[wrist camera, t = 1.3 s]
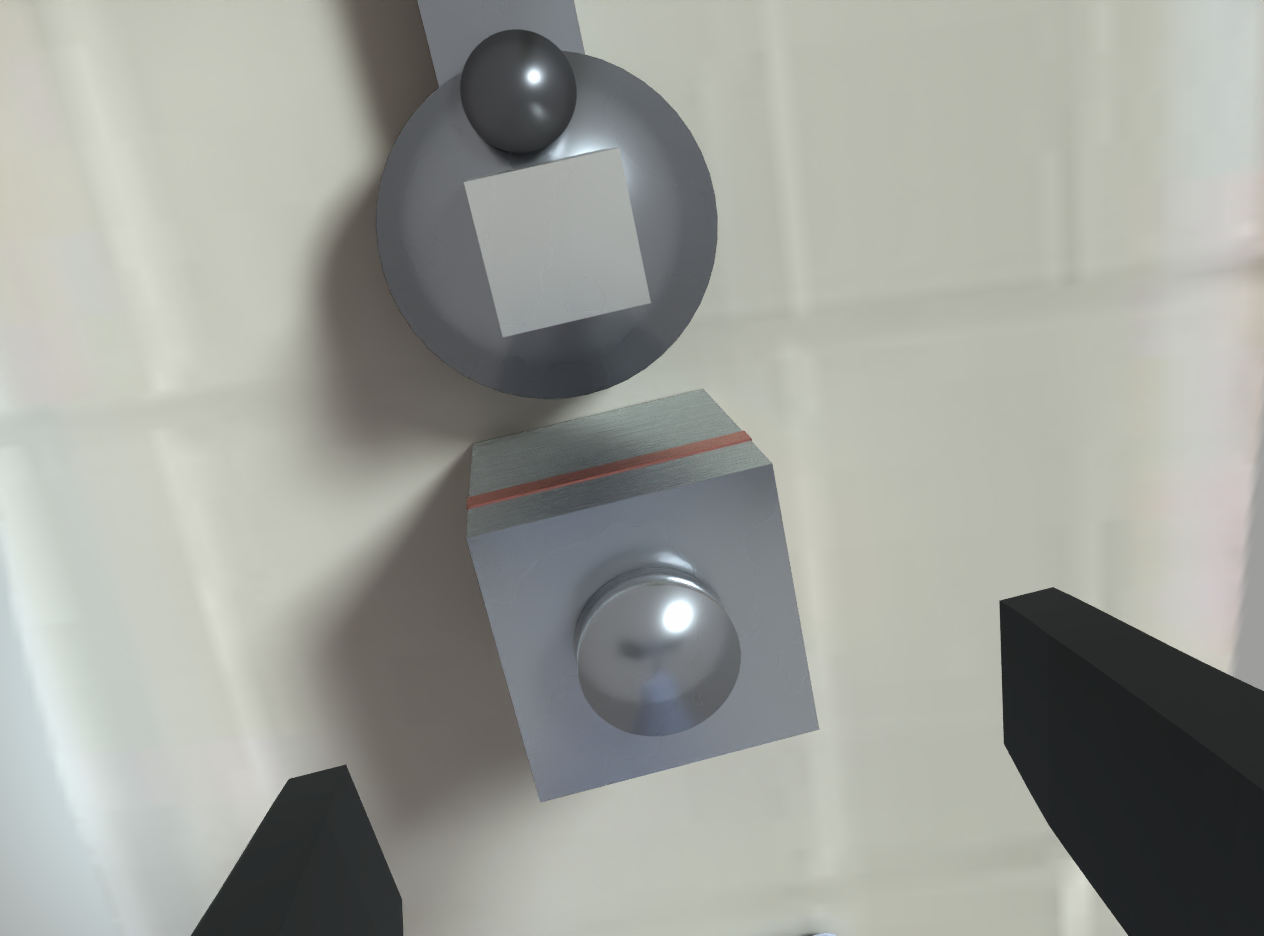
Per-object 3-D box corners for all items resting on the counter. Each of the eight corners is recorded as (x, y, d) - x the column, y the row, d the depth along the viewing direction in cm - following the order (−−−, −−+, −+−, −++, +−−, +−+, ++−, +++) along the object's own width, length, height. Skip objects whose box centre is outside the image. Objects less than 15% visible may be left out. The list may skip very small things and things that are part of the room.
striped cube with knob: (744, 599, 21) (836, 757, 16) (528, 653, 21) (541, 835, 16) (704, 387, 20) (787, 478, 14) (471, 443, 20) (462, 557, 14)
